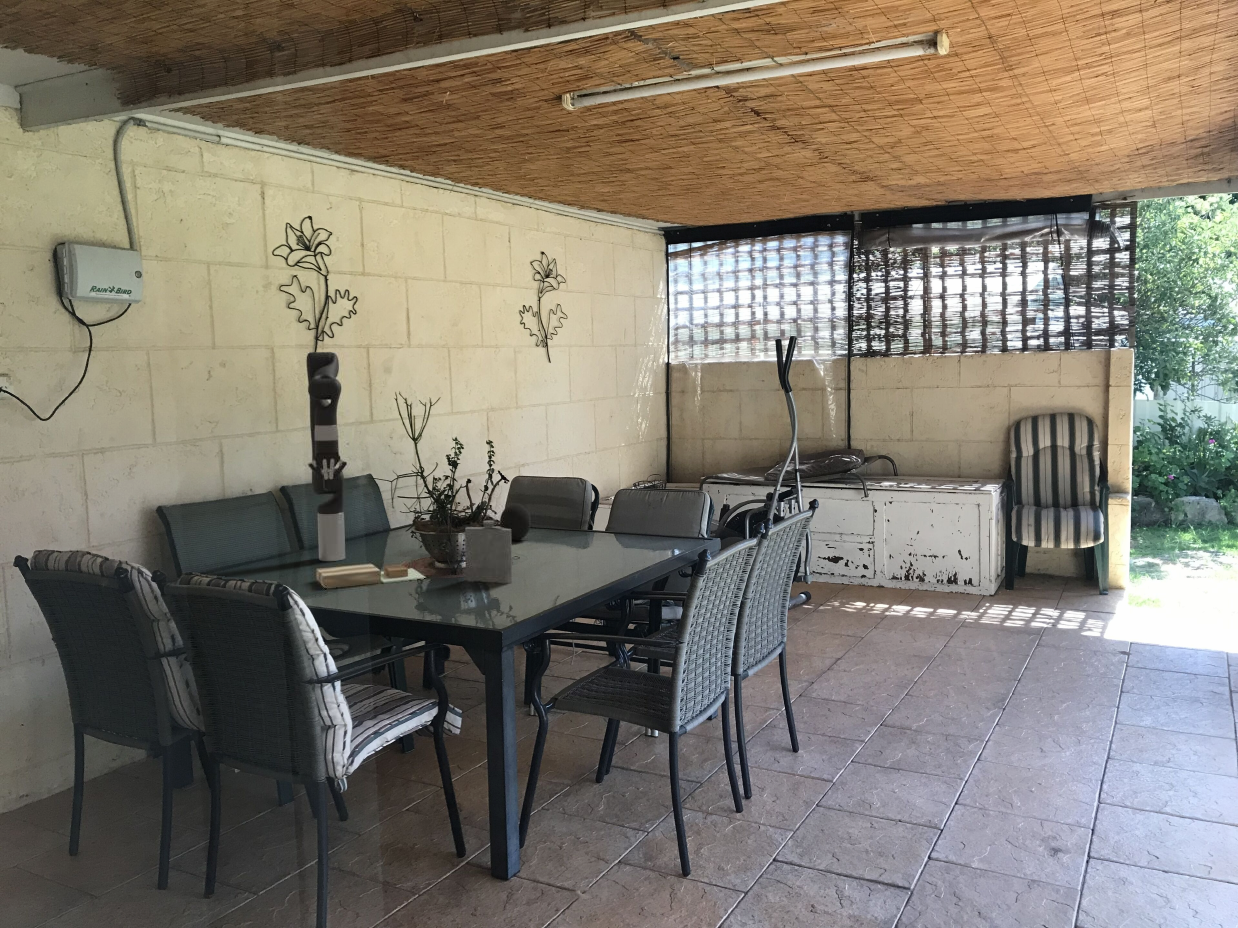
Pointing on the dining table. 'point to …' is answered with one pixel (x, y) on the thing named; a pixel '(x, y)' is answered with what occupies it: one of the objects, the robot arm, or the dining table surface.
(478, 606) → the dining table surface
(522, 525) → the decorative egg
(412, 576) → the sage mat
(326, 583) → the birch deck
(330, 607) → the dining table surface
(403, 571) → the walnut tile
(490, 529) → the hip flask
